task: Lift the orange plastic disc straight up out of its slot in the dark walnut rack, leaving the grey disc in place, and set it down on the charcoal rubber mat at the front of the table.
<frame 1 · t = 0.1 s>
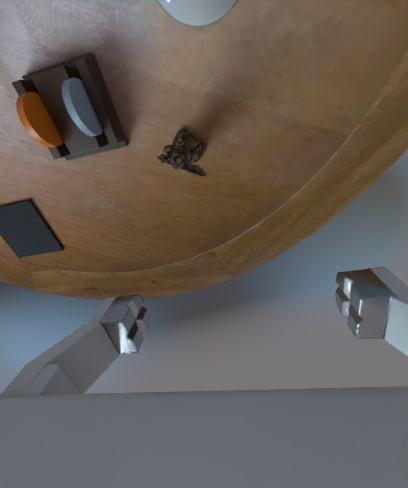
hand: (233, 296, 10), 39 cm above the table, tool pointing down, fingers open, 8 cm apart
grey disc: (85, 108, 36), point 5 cm above the table, touching rack
mat: (25, 230, 57), on the table
orange disc: (43, 121, 38), point 5 cm above the table, touching rack
figurine: (192, 148, 43), on the table
rack: (80, 112, 41), on the table
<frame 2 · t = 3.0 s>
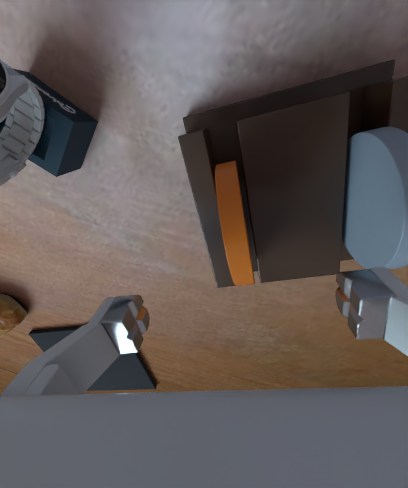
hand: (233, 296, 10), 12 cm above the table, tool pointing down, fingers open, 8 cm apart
grey disc: (369, 202, 14), point 5 cm above the table, touching rack
mat: (97, 359, 33), on the table
orange disc: (236, 224, 15), point 5 cm above the table, touching rack
watch: (58, 122, 18), on the table
rack: (283, 191, 19), on the table
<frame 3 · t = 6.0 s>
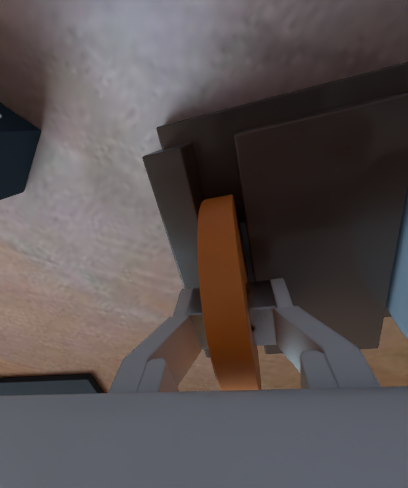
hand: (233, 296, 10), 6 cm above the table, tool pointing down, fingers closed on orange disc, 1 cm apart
mat: (65, 411, 28), on the table
orange disc: (233, 287, 10), point 5 cm above the table, touching gripper
rack: (297, 227, 14), on the table
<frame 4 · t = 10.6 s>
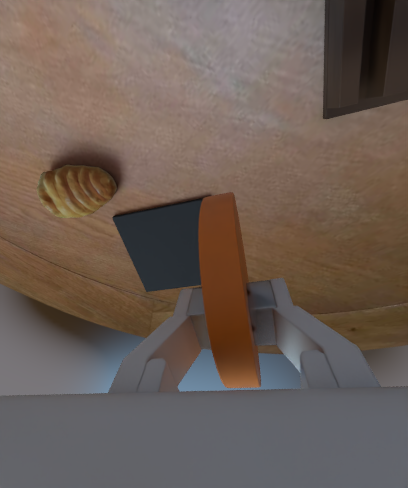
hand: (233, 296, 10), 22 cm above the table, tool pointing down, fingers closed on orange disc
mat: (173, 249, 35), on the table
pastry: (81, 186, 31), on the table
orange disc: (233, 283, 10), point 21 cm above the table, touching gripper
rack: (403, 11, 20), on the table
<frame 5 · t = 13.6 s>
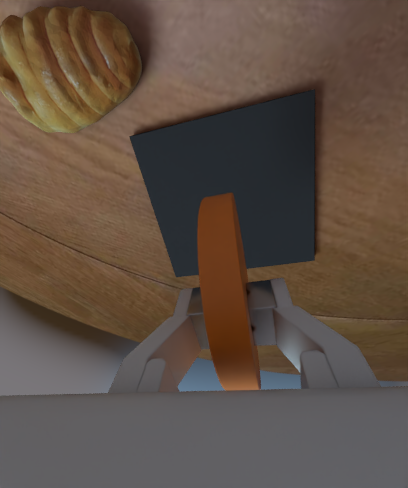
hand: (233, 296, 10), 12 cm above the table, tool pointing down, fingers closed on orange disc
mat: (230, 202, 20), on the table
pastry: (77, 74, 17), on the table
orange disc: (233, 284, 10), point 12 cm above the table, touching gripper
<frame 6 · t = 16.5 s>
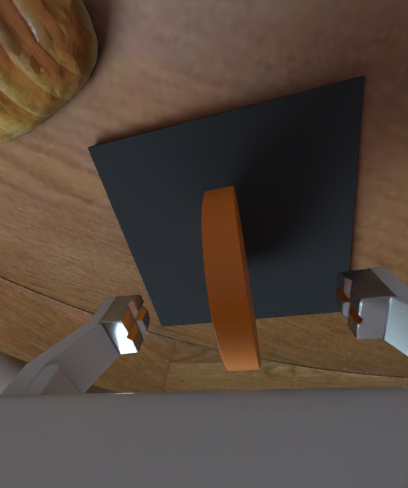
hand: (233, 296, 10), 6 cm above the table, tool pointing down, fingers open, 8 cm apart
mat: (232, 235, 15), on the table
pastry: (8, 58, 12), on the table
orange disc: (234, 273, 11), point 5 cm above the table, touching mat
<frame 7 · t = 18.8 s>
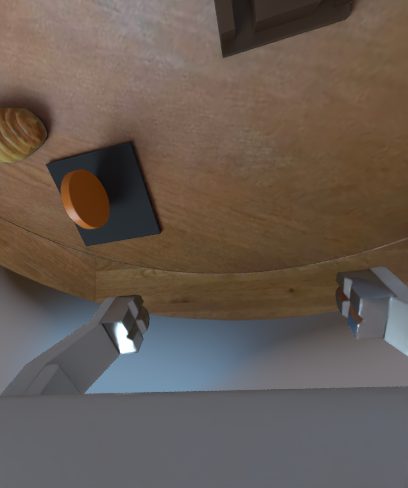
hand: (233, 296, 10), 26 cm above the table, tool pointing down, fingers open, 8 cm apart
mat: (107, 199, 36), on the table
pastry: (17, 133, 33), on the table
orange disc: (88, 200, 31), point 5 cm above the table, tilted 16°, touching mat
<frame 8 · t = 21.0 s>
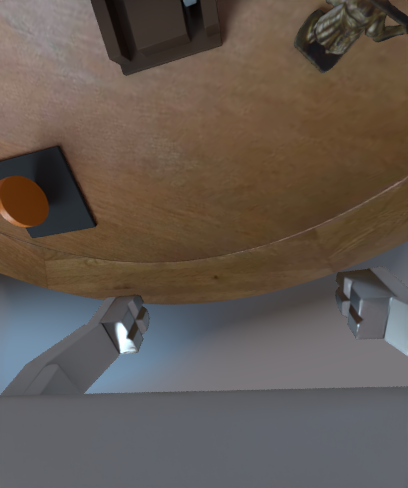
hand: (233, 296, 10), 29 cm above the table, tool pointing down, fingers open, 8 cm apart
mat: (45, 196, 40), on the table
orange disc: (23, 201, 36), point 5 cm above the table, tilted 6°, touching mat
figurine: (323, 49, 28), on the table
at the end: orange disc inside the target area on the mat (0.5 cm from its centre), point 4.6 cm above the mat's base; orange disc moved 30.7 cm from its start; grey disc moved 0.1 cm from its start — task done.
